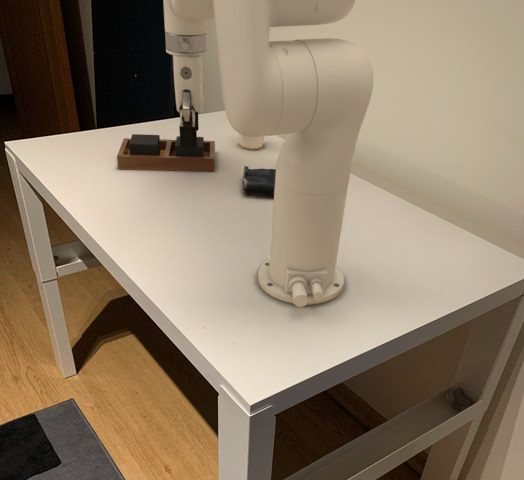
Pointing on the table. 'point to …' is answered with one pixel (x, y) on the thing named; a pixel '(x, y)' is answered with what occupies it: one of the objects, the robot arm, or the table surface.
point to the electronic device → (259, 181)
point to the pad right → (190, 151)
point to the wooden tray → (167, 158)
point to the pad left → (144, 144)
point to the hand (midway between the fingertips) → (189, 138)
